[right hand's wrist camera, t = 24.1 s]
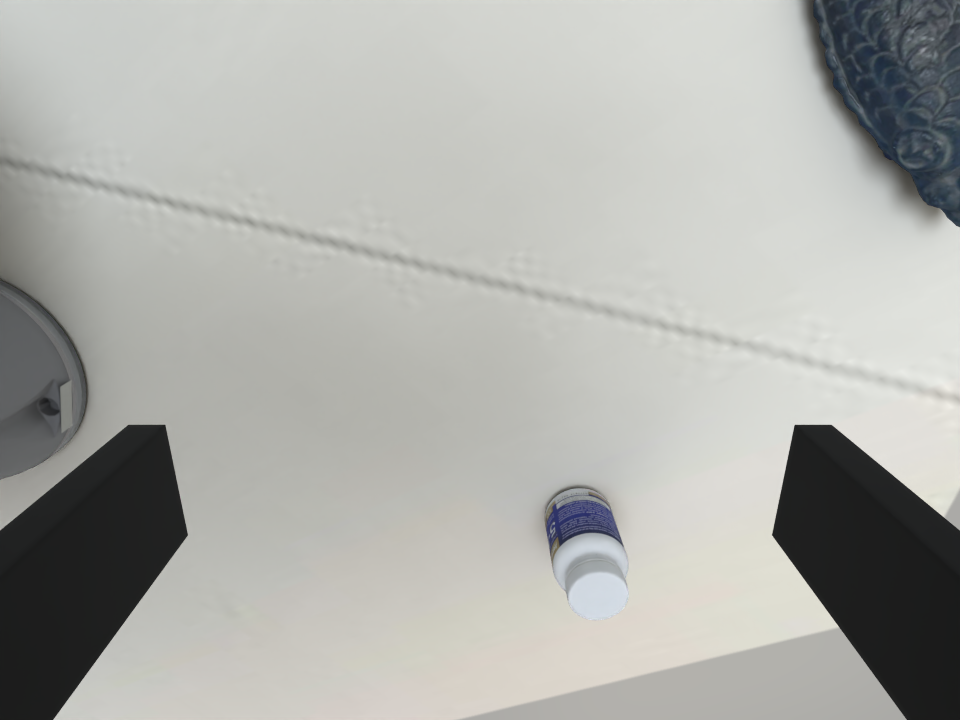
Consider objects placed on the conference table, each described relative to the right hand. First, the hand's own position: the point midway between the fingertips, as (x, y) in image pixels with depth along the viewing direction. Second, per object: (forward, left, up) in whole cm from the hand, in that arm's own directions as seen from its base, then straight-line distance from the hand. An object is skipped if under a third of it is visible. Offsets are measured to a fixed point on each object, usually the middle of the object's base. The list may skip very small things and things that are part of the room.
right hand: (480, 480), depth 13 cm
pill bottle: (-4, -22, -29) cm, 37 cm away
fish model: (+27, -3, -29) cm, 39 cm away
